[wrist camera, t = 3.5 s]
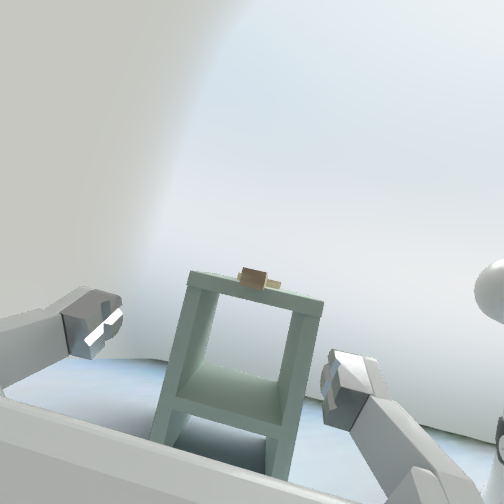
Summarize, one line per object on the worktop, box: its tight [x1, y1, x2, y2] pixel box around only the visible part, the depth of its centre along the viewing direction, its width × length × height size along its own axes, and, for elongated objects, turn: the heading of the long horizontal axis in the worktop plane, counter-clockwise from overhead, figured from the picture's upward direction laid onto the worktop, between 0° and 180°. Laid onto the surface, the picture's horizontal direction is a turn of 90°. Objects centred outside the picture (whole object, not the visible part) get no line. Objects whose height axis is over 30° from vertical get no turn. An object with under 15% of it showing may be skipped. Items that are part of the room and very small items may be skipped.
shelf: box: [149, 271, 324, 481], centre depth 39 cm, size 18×15×26 cm
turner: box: [237, 267, 281, 291], centre depth 36 cm, size 23×7×2 cm, turn 176°
